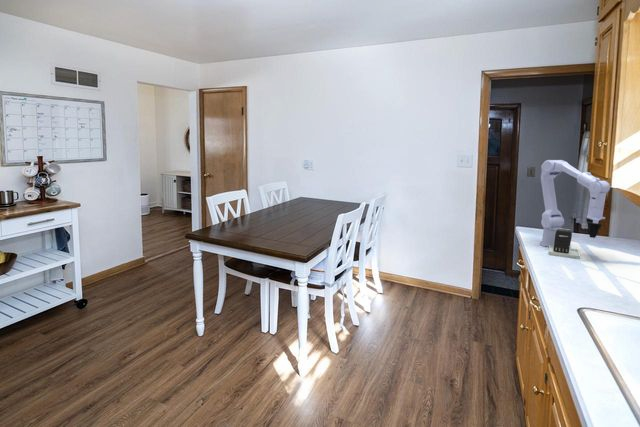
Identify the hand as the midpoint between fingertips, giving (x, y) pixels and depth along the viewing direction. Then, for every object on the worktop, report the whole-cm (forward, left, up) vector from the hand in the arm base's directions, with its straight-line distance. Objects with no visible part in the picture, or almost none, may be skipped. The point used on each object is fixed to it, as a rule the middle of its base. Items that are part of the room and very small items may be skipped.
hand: (591, 235), depth 185 cm
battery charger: (0, -11, -10) cm, 15 cm away
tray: (0, -10, -10) cm, 14 cm away
